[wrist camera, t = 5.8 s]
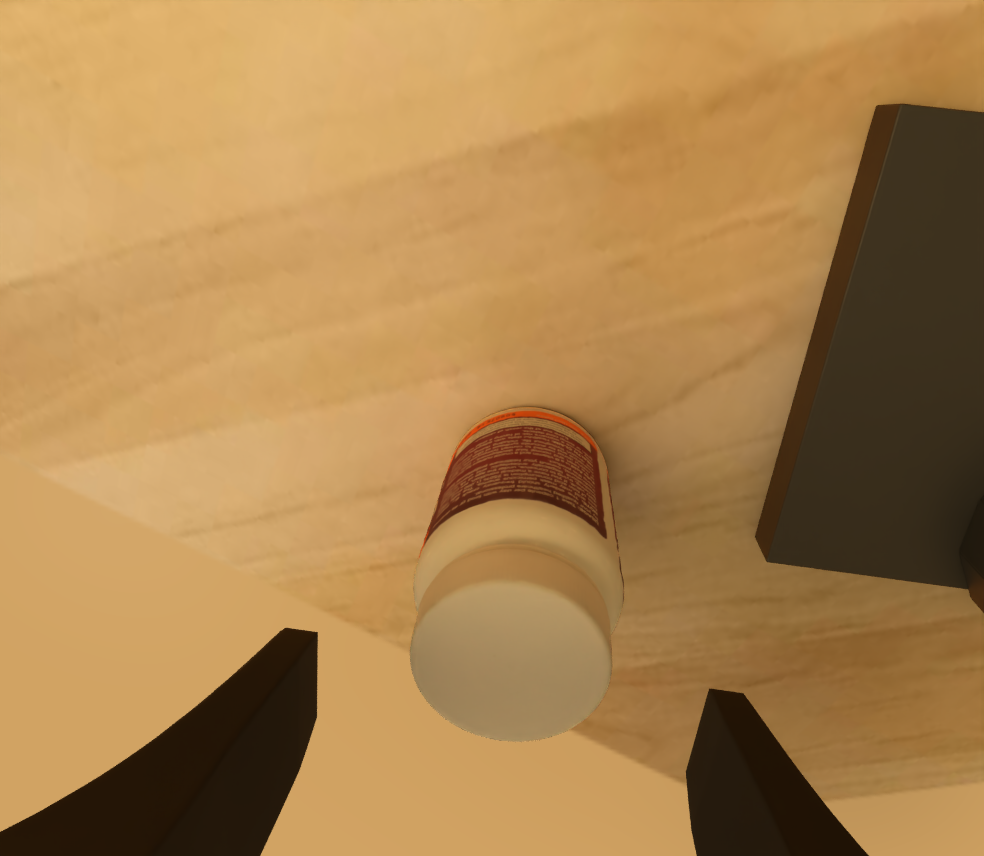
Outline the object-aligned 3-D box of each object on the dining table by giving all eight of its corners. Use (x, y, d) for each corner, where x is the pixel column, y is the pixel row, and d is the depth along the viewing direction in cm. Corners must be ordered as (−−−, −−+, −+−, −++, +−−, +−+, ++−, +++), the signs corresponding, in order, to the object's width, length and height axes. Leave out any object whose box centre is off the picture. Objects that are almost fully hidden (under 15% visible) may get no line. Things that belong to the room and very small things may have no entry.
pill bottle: (421, 444, 22) (342, 619, 14) (563, 376, 21) (563, 525, 13) (497, 567, 23) (463, 786, 16) (634, 509, 22) (672, 716, 14)
